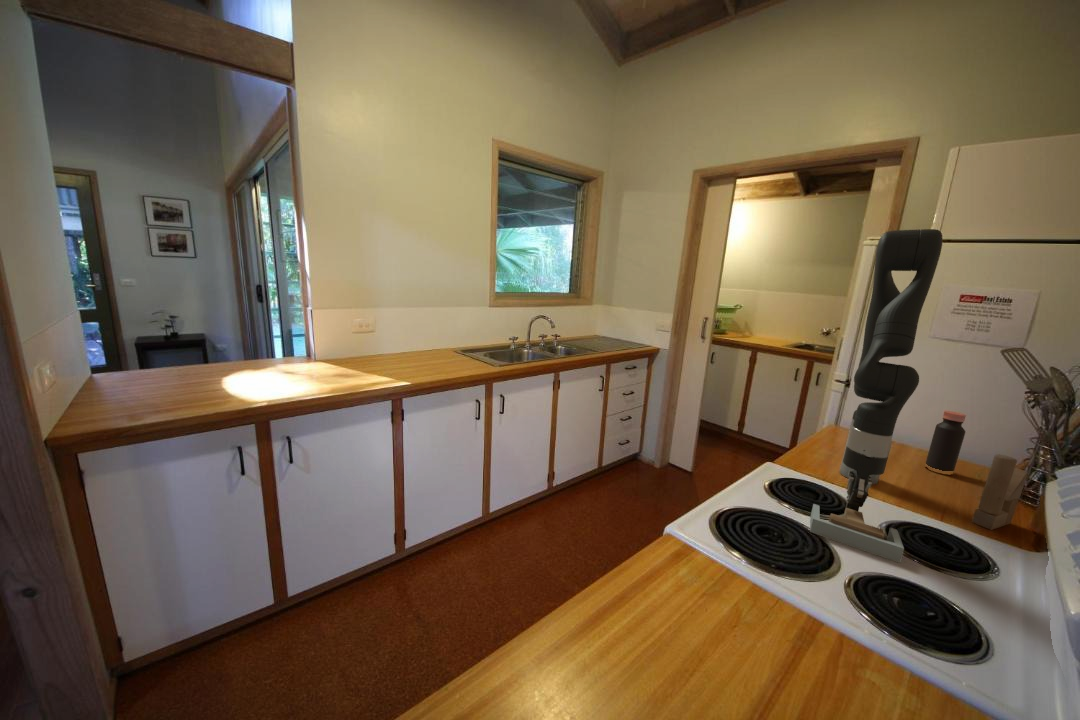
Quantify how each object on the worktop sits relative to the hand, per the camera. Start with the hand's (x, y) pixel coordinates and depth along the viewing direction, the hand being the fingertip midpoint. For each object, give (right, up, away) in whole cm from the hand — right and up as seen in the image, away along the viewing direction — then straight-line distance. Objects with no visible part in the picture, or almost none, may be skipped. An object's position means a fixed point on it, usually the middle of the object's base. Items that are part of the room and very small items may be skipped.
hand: (849, 517), depth 95 cm
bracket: (-4, -2, -6) cm, 7 cm away
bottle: (+58, 0, +37) cm, 69 cm away
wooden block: (+40, -4, +6) cm, 40 cm away
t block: (-4, -2, -6) cm, 7 cm away
